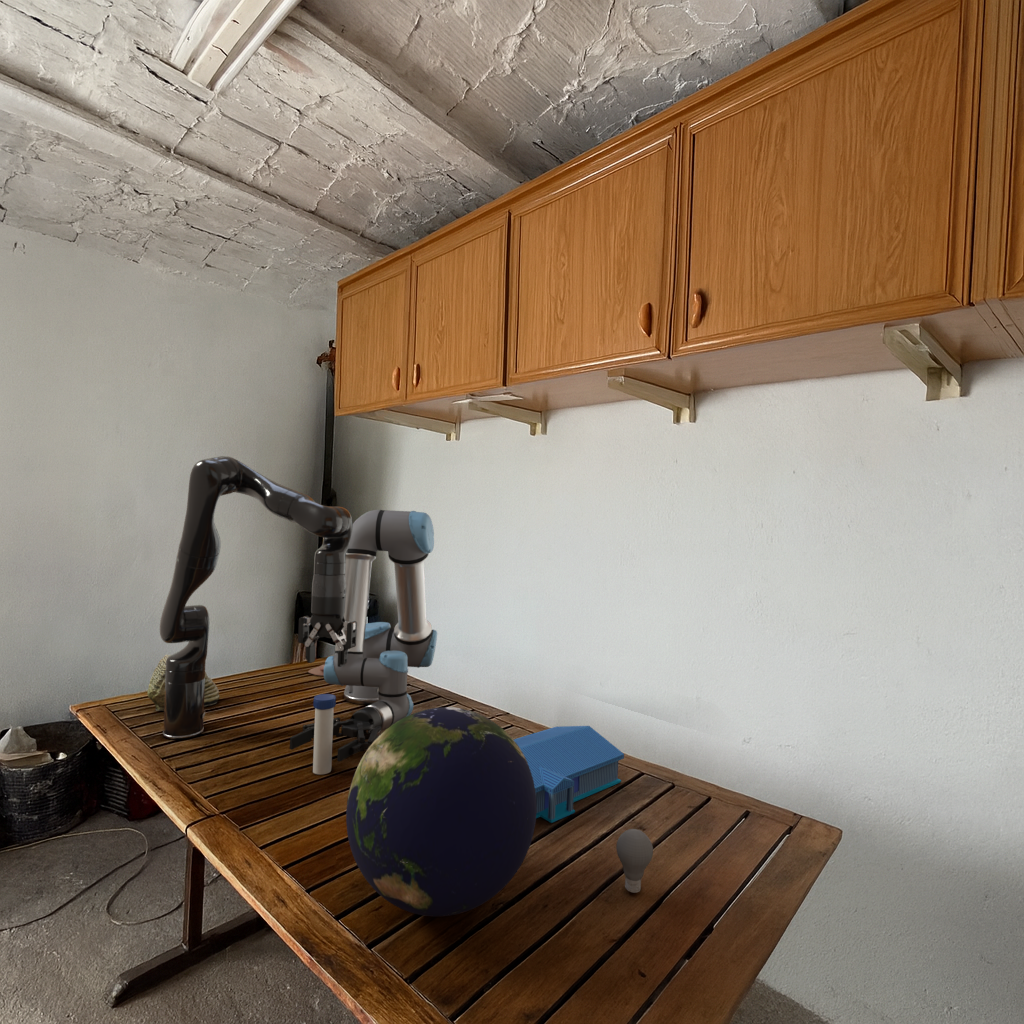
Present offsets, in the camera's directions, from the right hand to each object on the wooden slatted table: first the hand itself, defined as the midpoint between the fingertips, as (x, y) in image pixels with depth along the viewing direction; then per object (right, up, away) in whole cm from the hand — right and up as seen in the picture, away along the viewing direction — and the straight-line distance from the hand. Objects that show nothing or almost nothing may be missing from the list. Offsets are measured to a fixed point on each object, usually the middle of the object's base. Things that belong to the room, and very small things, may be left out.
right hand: (314, 749), depth 143 cm
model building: (+50, -8, -3) cm, 50 cm away
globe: (+33, -8, -42) cm, 54 cm away
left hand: (+2, +19, +3) cm, 19 cm away
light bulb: (+65, -10, -38) cm, 76 cm away
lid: (+2, +11, +3) cm, 11 cm away
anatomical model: (-21, -4, +83) cm, 86 cm away
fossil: (-51, -3, +42) cm, 66 cm away
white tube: (+1, -6, +3) cm, 7 cm away
